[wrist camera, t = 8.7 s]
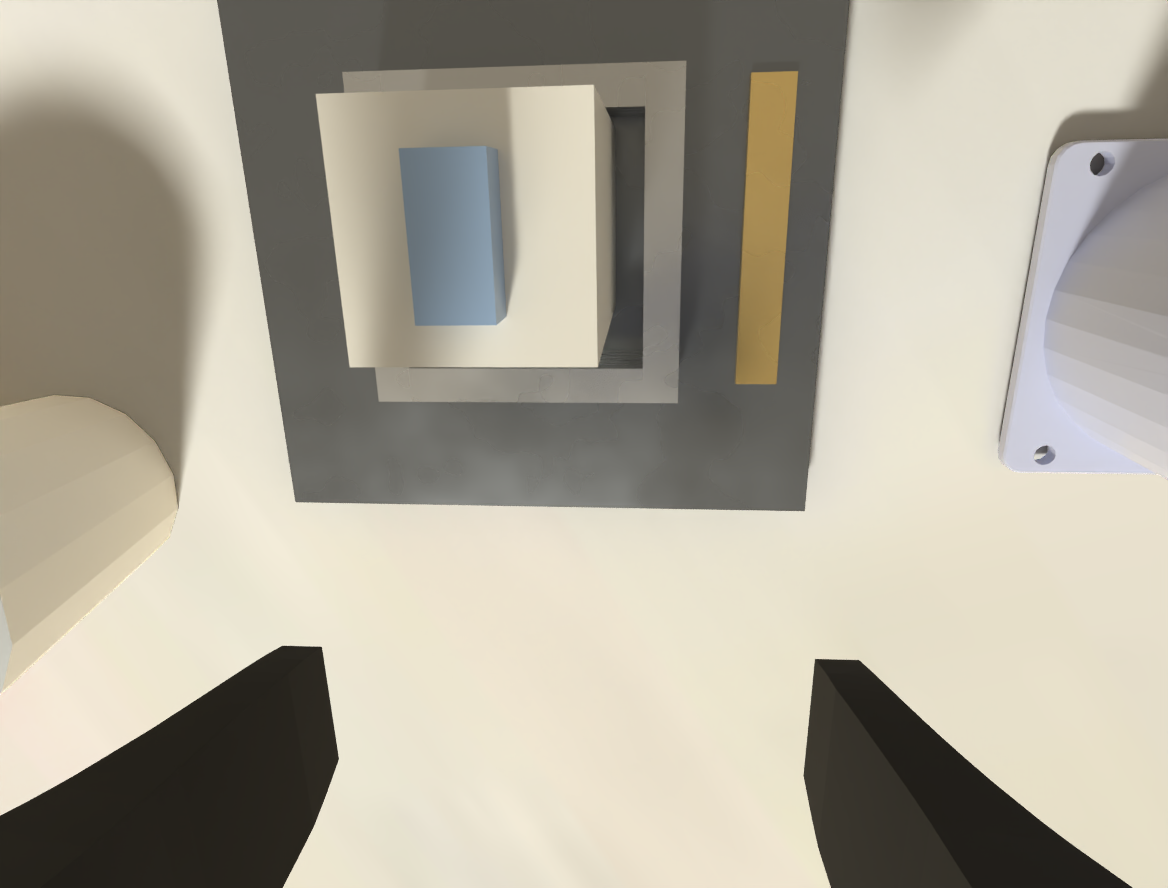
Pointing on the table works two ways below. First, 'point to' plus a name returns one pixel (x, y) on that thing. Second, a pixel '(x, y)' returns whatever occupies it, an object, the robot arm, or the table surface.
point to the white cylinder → (71, 517)
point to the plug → (472, 225)
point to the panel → (643, 251)
